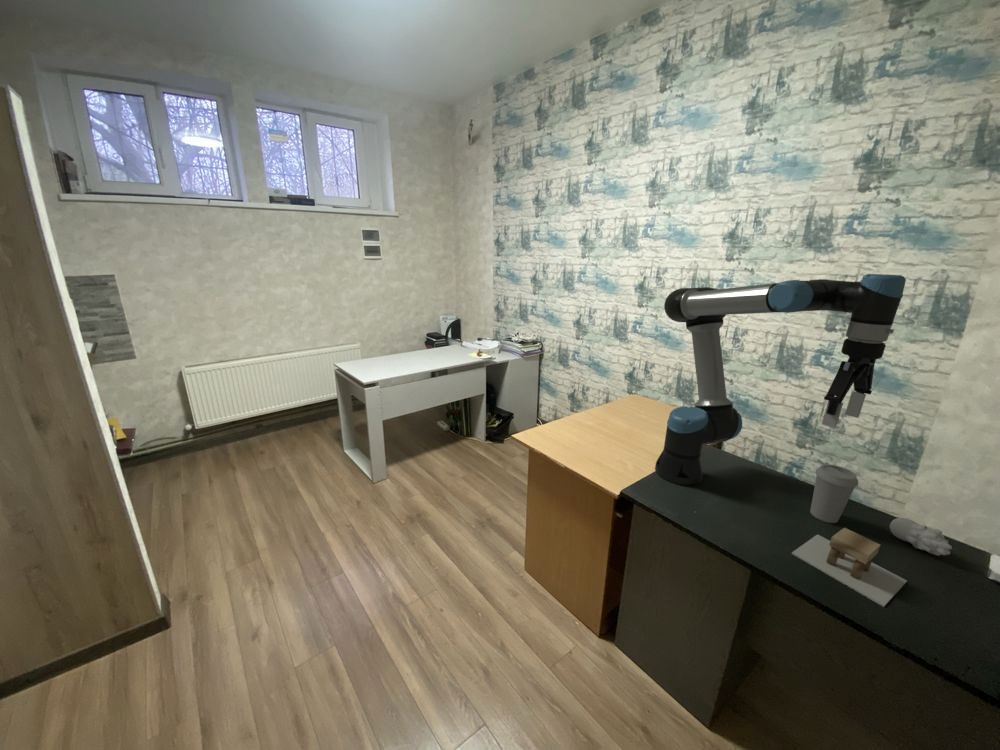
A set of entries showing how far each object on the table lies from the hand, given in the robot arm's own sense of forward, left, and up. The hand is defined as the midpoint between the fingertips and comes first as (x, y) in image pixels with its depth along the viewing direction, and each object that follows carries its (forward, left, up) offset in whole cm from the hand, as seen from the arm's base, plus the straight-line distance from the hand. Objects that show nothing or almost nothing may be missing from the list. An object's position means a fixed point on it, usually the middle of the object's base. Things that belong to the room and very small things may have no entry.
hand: (840, 420), depth 100 cm
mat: (+12, -9, -33) cm, 36 cm away
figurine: (+18, +17, -33) cm, 41 cm away
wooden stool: (+12, -9, -32) cm, 36 cm away
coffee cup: (0, +10, -33) cm, 34 cm away
